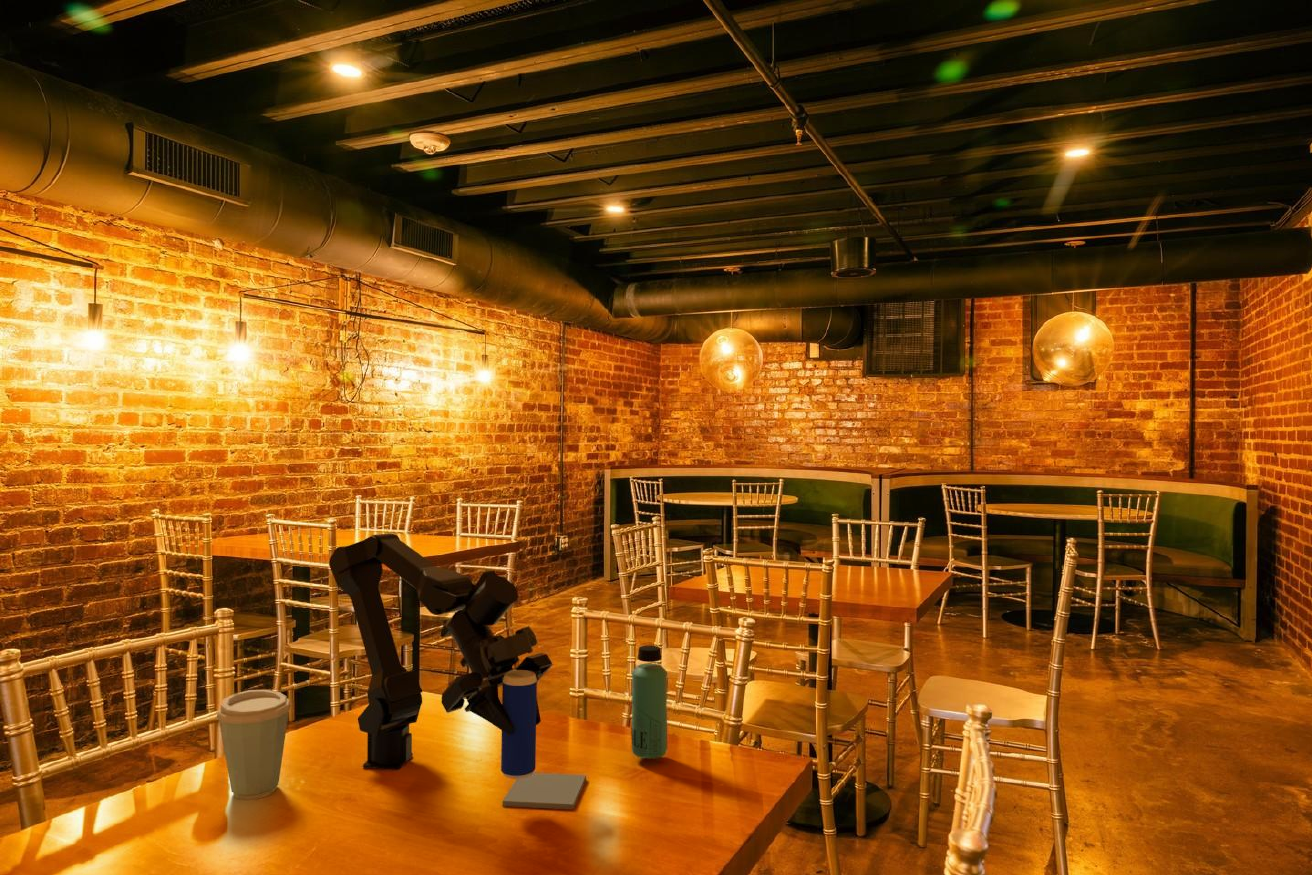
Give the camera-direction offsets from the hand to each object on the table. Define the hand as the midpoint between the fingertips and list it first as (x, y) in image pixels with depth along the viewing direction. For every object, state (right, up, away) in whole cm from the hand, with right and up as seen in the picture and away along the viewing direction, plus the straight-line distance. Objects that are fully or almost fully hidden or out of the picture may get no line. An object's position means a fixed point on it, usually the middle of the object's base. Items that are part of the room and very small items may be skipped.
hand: (525, 728), depth 123 cm
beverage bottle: (+18, -13, +21) cm, 31 cm away
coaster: (+2, -13, +7) cm, 15 cm away
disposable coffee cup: (-44, -13, +6) cm, 46 cm away
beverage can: (-1, -7, +1) cm, 7 cm away
